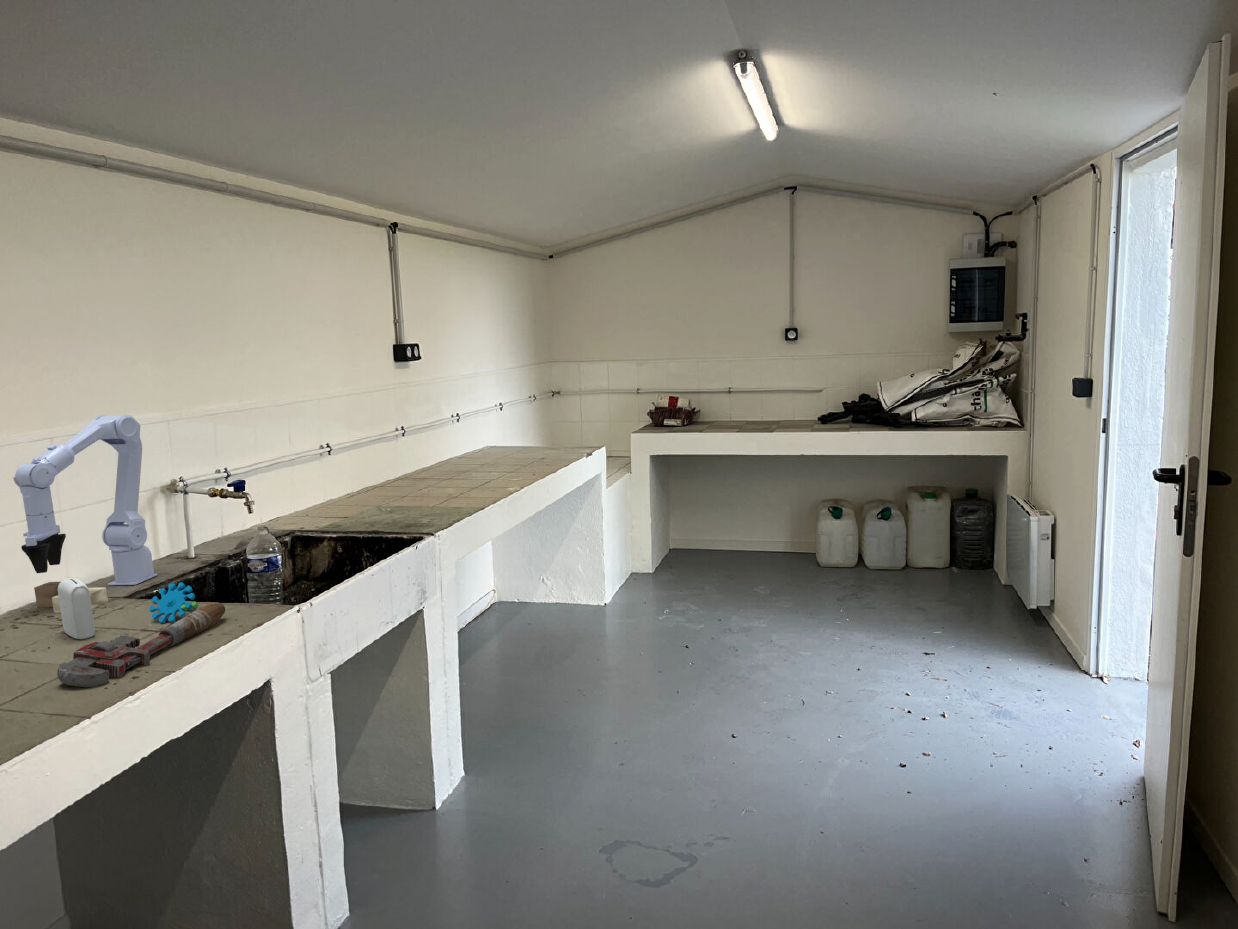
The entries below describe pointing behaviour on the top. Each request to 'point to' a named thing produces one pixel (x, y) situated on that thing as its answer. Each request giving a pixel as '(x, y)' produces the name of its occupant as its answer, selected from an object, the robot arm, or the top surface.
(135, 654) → the pipe wrench
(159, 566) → the top surface
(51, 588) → the walnut cube
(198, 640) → the top surface
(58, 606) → the birch block
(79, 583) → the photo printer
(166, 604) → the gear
